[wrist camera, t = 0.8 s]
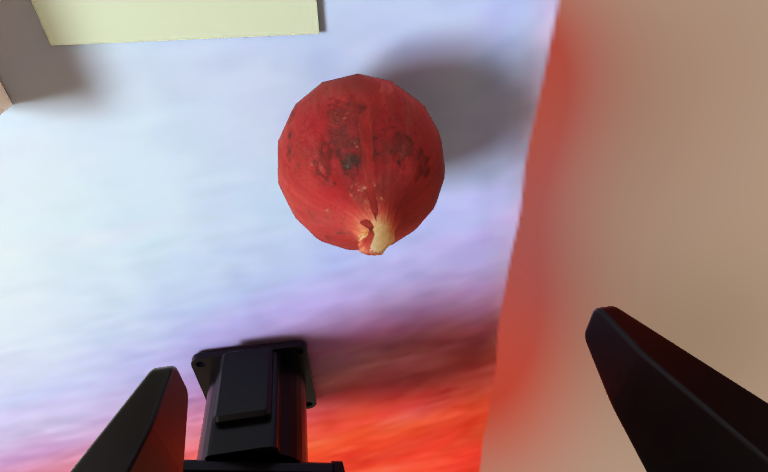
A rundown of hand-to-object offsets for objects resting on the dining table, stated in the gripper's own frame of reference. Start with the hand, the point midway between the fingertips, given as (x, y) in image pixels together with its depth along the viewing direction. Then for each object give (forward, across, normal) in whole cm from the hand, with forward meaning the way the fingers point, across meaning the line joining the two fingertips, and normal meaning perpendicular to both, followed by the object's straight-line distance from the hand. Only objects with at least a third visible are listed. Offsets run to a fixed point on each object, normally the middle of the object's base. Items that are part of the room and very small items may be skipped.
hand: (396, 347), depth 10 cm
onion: (+12, 0, 0) cm, 12 cm away
